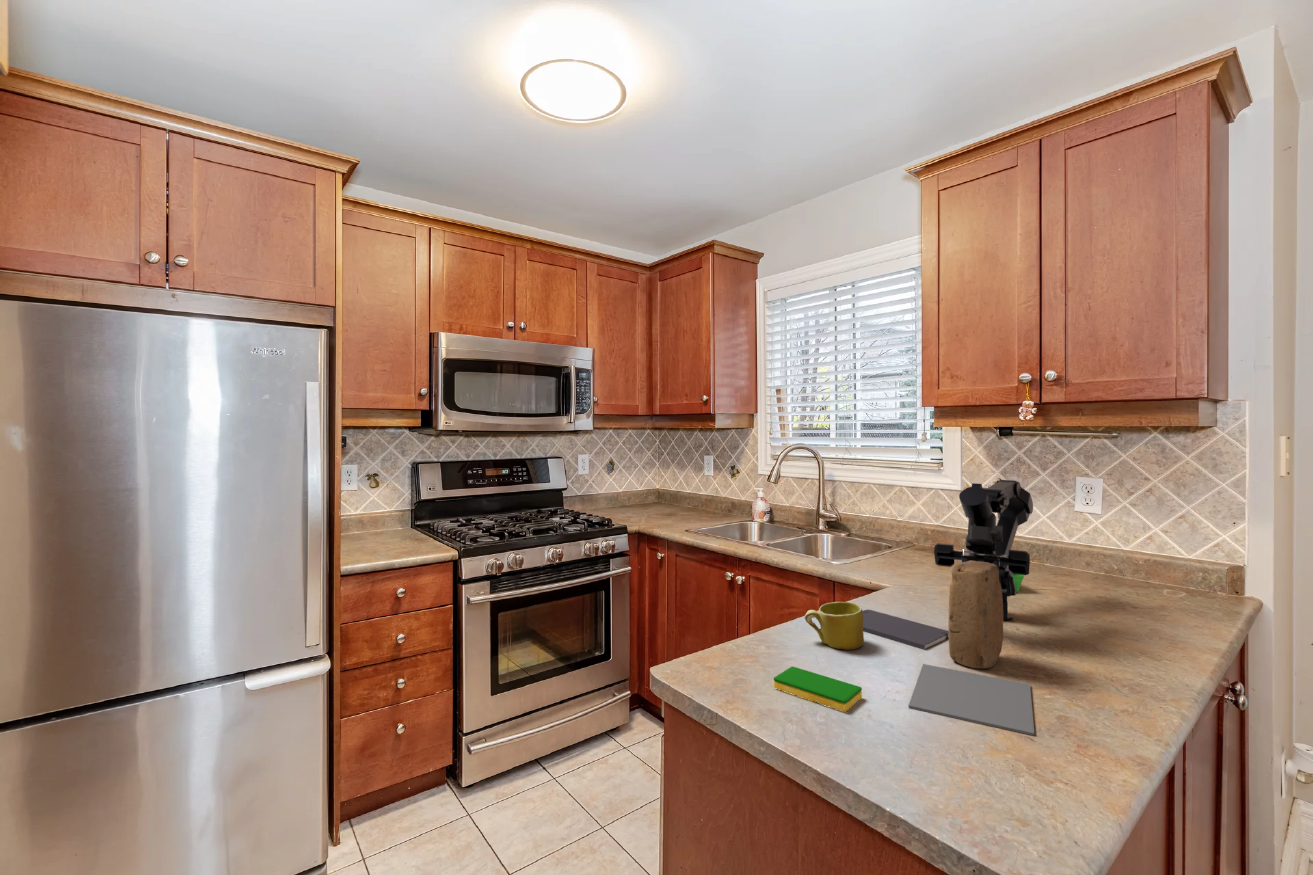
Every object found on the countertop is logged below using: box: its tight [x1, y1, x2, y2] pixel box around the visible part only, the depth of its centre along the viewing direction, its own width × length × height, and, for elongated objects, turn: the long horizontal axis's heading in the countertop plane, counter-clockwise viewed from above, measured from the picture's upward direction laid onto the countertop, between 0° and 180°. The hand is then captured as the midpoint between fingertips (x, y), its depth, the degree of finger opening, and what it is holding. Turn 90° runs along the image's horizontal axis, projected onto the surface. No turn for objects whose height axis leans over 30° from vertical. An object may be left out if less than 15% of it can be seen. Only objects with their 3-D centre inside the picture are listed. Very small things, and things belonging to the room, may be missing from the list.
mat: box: [908, 663, 1035, 737], centre depth 105 cm, size 20×18×1 cm
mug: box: [804, 601, 865, 651], centre depth 130 cm, size 12×10×10 cm
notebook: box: [862, 609, 949, 651], centre depth 139 cm, size 13×2×21 cm
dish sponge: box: [773, 666, 863, 713], centre depth 106 cm, size 7×14×2 cm, turn 48°
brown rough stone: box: [948, 560, 1004, 669], centre depth 120 cm, size 11×8×20 cm
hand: (979, 591), depth 129 cm, fingers closed
